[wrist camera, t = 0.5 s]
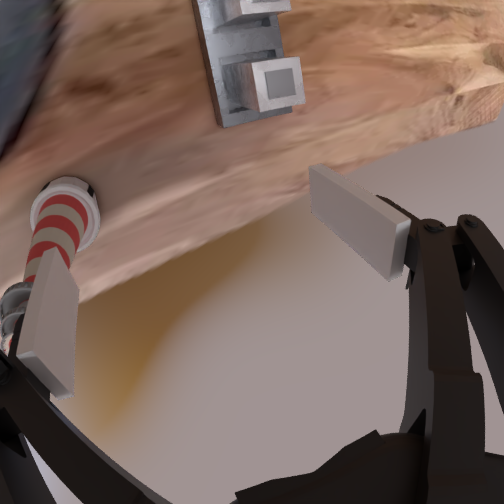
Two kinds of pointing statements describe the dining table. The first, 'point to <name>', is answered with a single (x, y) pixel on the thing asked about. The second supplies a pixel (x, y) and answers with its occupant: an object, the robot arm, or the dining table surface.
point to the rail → (235, 58)
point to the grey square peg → (245, 10)
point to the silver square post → (265, 83)
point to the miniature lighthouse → (52, 239)
